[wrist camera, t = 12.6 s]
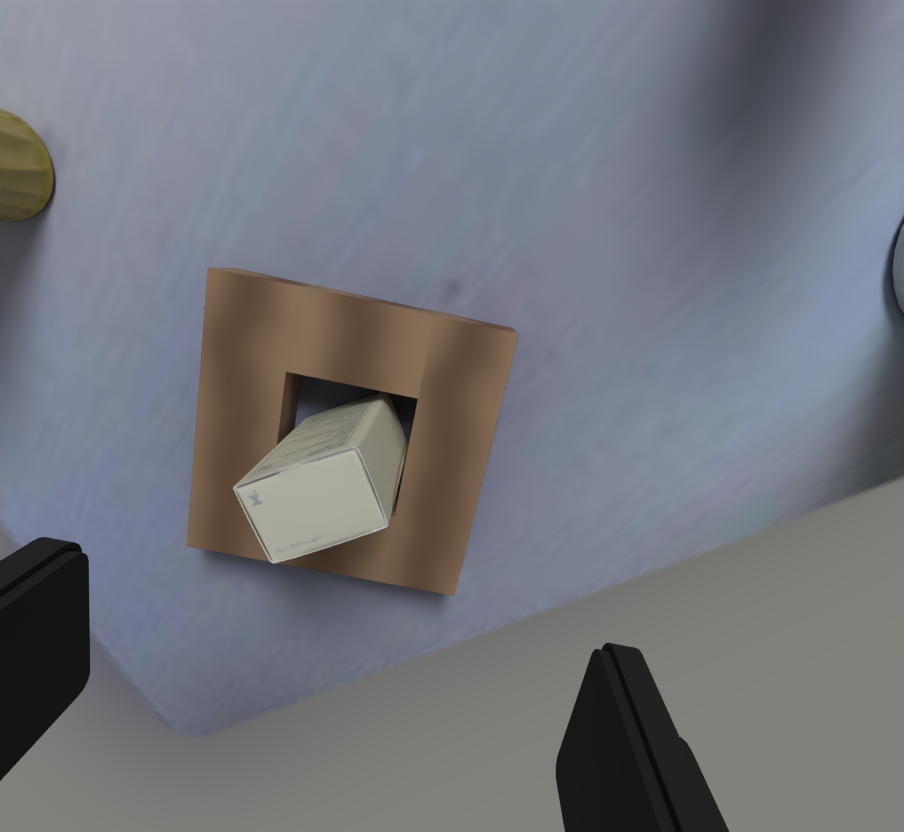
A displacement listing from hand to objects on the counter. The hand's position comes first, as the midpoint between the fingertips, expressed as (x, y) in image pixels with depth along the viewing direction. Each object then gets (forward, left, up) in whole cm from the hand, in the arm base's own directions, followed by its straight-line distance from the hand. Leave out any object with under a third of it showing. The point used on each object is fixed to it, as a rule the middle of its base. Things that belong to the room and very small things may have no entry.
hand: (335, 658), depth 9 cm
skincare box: (+4, +4, -26) cm, 26 cm away
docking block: (+4, +4, -25) cm, 26 cm away
